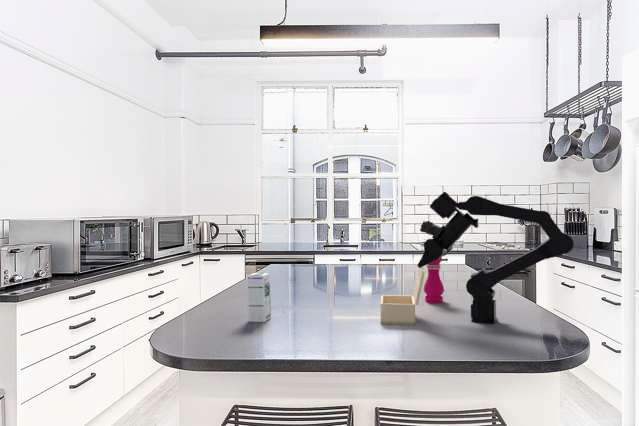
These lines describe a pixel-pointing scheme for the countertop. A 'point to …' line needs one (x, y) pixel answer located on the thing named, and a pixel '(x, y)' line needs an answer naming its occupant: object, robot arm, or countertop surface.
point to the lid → (418, 285)
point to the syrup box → (258, 297)
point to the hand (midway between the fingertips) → (421, 265)
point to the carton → (397, 310)
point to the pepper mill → (434, 283)
